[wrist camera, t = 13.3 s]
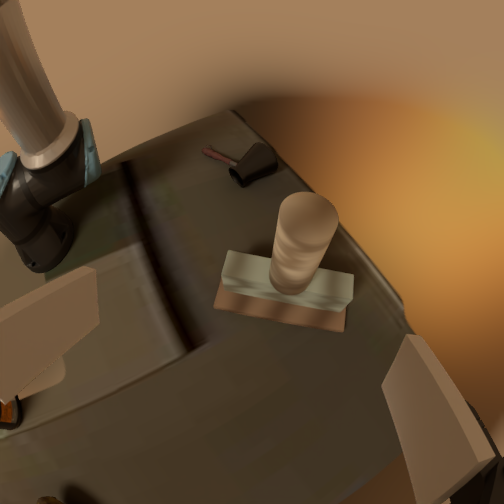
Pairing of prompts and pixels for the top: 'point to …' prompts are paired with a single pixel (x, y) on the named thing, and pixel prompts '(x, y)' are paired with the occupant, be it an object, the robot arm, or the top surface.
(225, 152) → the top surface
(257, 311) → the stand
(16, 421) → the supplement container
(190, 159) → the top surface
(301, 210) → the rod
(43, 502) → the potato
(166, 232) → the top surface
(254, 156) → the coffee pot
